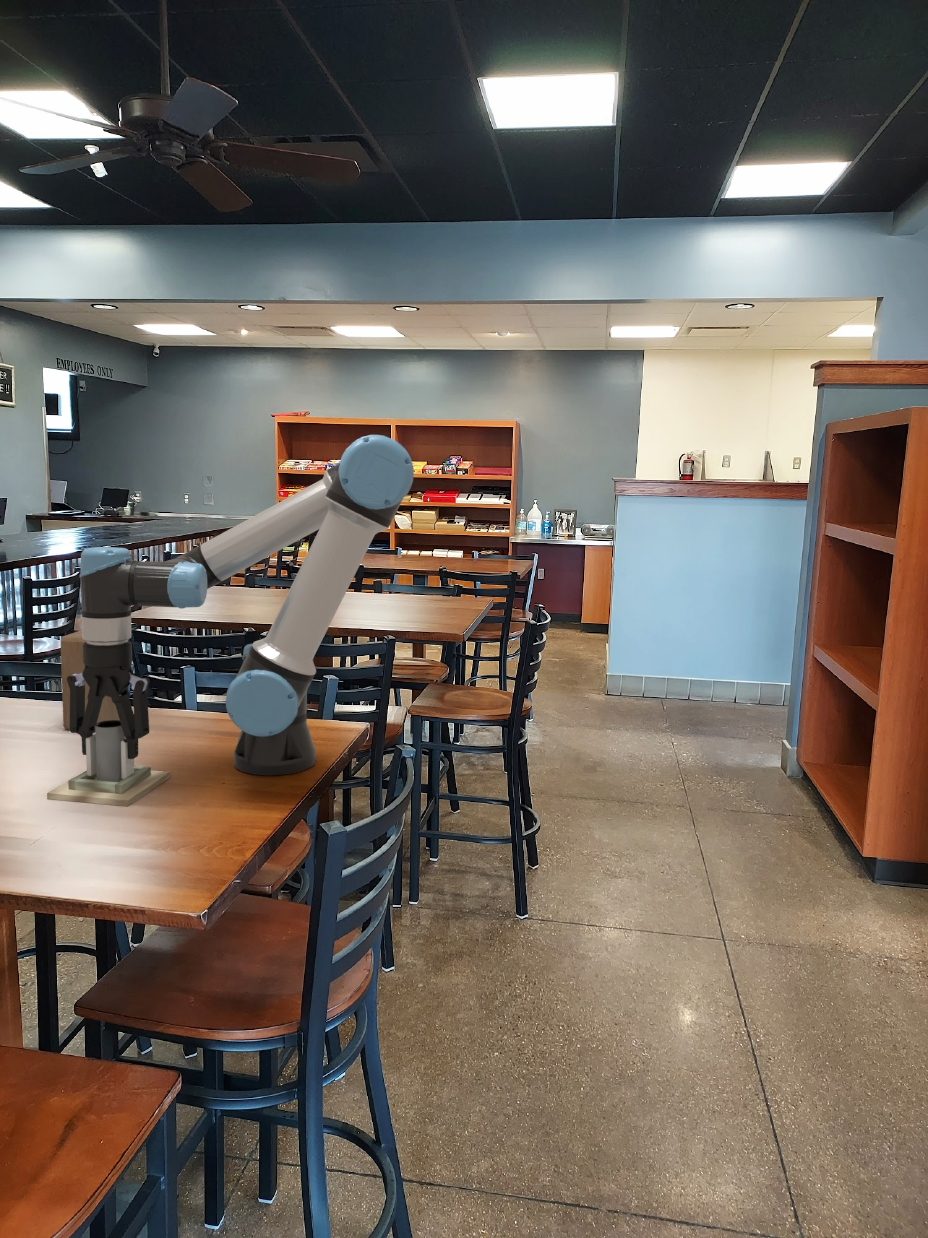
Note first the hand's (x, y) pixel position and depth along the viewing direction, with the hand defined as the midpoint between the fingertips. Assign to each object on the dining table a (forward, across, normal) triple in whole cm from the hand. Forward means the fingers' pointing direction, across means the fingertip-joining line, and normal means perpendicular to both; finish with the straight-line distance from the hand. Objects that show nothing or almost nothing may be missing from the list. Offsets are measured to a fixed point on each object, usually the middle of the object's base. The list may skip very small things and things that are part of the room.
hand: (110, 774), depth 138 cm
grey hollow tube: (+2, 0, 0) cm, 2 cm away
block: (+3, +23, -33) cm, 40 cm away
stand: (+2, 0, 0) cm, 2 cm away
